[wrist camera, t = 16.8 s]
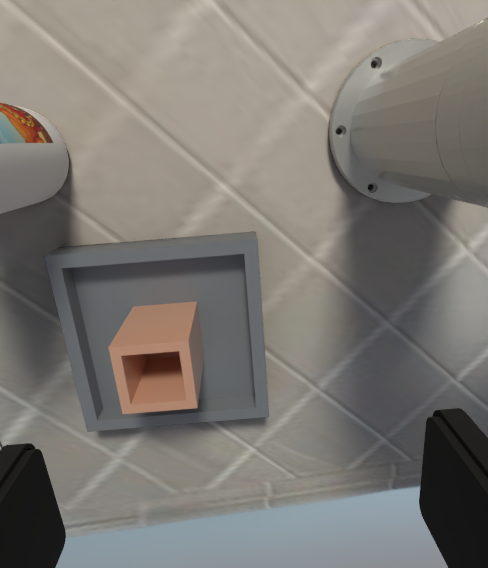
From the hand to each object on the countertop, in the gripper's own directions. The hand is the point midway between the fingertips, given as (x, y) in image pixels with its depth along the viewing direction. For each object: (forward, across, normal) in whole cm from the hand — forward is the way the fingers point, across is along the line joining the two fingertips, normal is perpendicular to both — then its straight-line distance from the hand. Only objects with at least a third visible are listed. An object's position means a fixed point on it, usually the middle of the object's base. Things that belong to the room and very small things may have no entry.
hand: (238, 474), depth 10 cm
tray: (+28, +7, +9) cm, 31 cm away
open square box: (+27, +7, +9) cm, 30 cm away
